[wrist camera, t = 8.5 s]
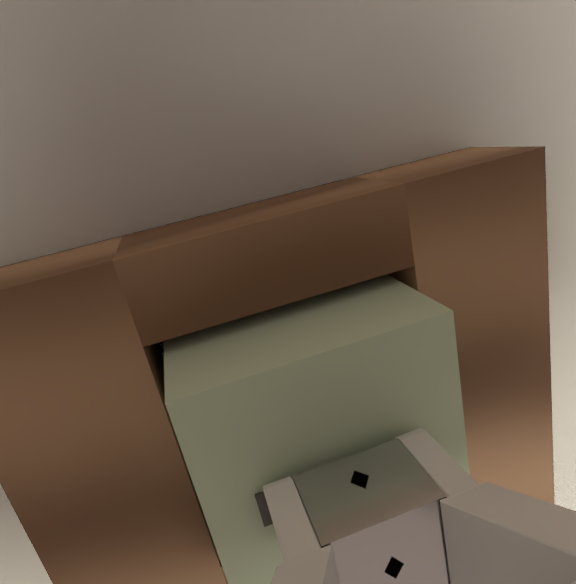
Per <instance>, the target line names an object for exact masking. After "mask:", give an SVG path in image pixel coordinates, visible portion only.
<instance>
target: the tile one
mask: <svg viewBox="0 0 576 584" xmlns="http://www.w3.org/2000/svg"><path fill="white" fill-rule="evenodd" d="M163 346H164V387H165V405H166V408H167V411H168V414H169V416H170V419H171V422H172V425H173V428H174V431H175V433H176V436H177V439H178V442H179V445H180V448H181V451H182V453H183V456H184V459H185V462H186V465H187V468H188V470H189V473H190V476H191V479H192V482H193V485H194V488H195V490H196V493H197V496H198V499H199V502H200V505H201V507H202V510H203V513H204V516H205V519H206V522H207V525H208V527H209V530H210V533H211V536H212V539H213V542H214V544H215V547H216V550H217V553H218V556H219V559H220V562H221V564H222V567H223V570H224V573H225V576H226V579H227V581H228V584H271V581H272V578H273V575H274V572H275V569H276V566H279V565H281V564H283V563H284V560H283V557H282V554H281V550H280V547H279V543H278V540H277V536H276V533H275V529H274V526H273V522H272V519H271V516H270V512H269V509H268V505H267V502H266V498H265V495H264V491H263V485H266V484H269V483H272V482H275V481H277V480H280V479H283V478H286V477H289V476H290V477H291V475H293V474H296V473H299V472H302V471H305V470H308V469H311V468H314V467H317V466H320V465H323V464H326V463H329V462H331V461H334V460H337V459H340V458H343V457H346V456H349V455H352V454H354V453H357V452H359V451H362V450H365V449H367V448H370V447H373V446H375V445H378V444H381V443H383V442H386V441H389V440H391V439H395V437H397V436H400V435H402V434H405V433H408V432H410V431H413V430H415V429H418V428H422V429H425V430H426V431H427V432H428V433H429V434H430V435H431V436H432V437H433V438H434V439H435V440H436V441H437V442H438V443H439V444H440V446H441V447H442V448H443V449H444V450H445V451H446V452H447V453H448V454H449V455H450V456H451V457H452V458H453V459H454V460H455V461H456V462H457V463H458V464H459V465H460V466H461V467H462V468H463V469H464V470H465V471H466V472H467V473H468V474H469V475H470V472H469V462H468V452H467V442H466V432H465V422H464V413H463V403H462V393H461V383H460V373H459V363H458V353H457V344H456V334H455V324H454V314H453V310H451V309H450V308H448V307H446V306H444V305H442V304H440V303H439V302H437V301H435V300H433V299H431V298H429V297H428V296H426V295H424V294H422V293H420V292H418V291H417V290H415V289H413V288H411V287H409V286H407V285H405V284H404V283H402V282H400V281H398V280H396V279H394V278H393V277H391V276H389V275H387V274H386V275H383V276H380V277H376V278H373V279H370V280H366V281H363V282H359V283H356V284H353V285H349V286H346V287H343V288H339V289H336V290H333V291H329V292H326V293H323V294H319V295H316V296H313V297H309V298H306V299H303V300H299V301H296V302H293V303H289V304H286V305H283V306H279V307H276V308H272V309H269V310H266V311H262V312H259V313H256V314H252V315H249V316H246V317H242V318H239V319H236V320H232V321H229V322H226V323H222V324H219V325H216V326H212V327H209V328H206V329H202V330H199V331H195V332H192V333H189V334H185V335H182V336H179V337H175V338H172V339H169V340H165V341H163Z"/></svg>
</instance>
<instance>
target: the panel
mask: <svg viewBox="0 0 576 584" xmlns="http://www.w3.org/2000/svg"><path fill="white" fill-rule="evenodd" d="M386 274H387V275H389V276H391V277H393V278H394V279H396V280H398V281H400V282H402V283H404V284H405V285H407V286H409V287H411V288H413V289H415V290H417V291H418V292H420V293H422V294H424V295H426V296H428V297H429V298H431V299H433V300H435V301H437V302H439V303H440V304H442V305H444V306H446V307H448V308H450V309H451V310H453V314H454V324H455V334H456V344H457V353H458V363H459V373H460V383H461V393H462V403H463V413H464V422H465V432H466V442H467V452H468V462H469V472H470V476H471V477H472V478H473V479H474V480H475V481H476V482H477V483H478V484H479V485H480V484H483V483H485V482H489V483H492V484H495V485H498V486H501V487H504V488H507V489H510V490H513V491H516V492H519V493H522V494H525V495H528V496H531V497H534V498H537V499H540V500H543V501H546V502H549V503H552V504H554V474H553V436H552V399H551V362H550V324H549V287H548V249H547V212H546V175H545V147H470V148H466V149H462V150H458V151H454V152H450V153H446V154H442V155H438V156H434V157H431V158H427V159H423V160H419V161H415V162H411V163H407V164H403V165H399V166H395V167H391V168H388V169H384V170H380V171H376V172H372V173H368V174H364V175H360V176H356V177H352V178H348V179H344V180H341V181H337V182H333V183H329V184H325V185H321V186H317V187H313V188H309V189H305V190H301V191H297V192H294V193H290V194H286V195H282V196H278V197H274V198H270V199H266V200H262V201H258V202H254V203H251V204H247V205H243V206H239V207H235V208H231V209H227V210H223V211H219V212H215V213H211V214H207V215H204V216H200V217H196V218H192V219H188V220H184V221H180V222H176V223H172V224H168V225H164V226H161V227H157V228H153V229H149V230H145V231H141V232H137V233H133V234H129V235H125V236H121V237H117V238H114V239H110V240H106V241H102V242H98V243H94V244H90V245H86V246H82V247H78V248H74V249H71V250H67V251H63V252H59V253H55V254H51V255H47V256H43V257H39V258H35V259H31V260H27V261H24V262H20V263H16V264H12V265H8V266H4V267H0V483H1V485H2V487H3V489H4V491H5V493H6V495H7V497H8V499H9V501H10V503H11V504H12V506H13V508H14V510H15V512H16V514H17V516H18V518H19V520H20V522H21V523H22V525H23V527H24V529H25V531H26V533H27V535H28V537H29V539H30V541H31V543H32V544H33V546H34V548H35V550H36V552H37V554H38V556H39V558H40V560H41V562H42V563H43V565H44V567H45V569H46V571H47V573H48V575H49V577H50V579H51V581H52V583H53V584H228V581H227V579H226V576H225V573H224V570H223V567H222V564H221V562H220V559H219V556H218V553H217V550H216V547H215V544H214V542H213V539H212V536H211V533H210V530H209V527H208V525H207V522H206V519H205V516H204V513H203V510H202V507H201V505H200V502H199V499H198V496H197V493H196V490H195V488H194V485H193V482H192V479H191V476H190V473H189V470H188V468H187V465H186V462H185V459H184V456H183V453H182V451H181V448H180V445H179V442H178V439H177V436H176V433H175V431H174V428H173V425H172V422H171V419H170V416H169V414H168V411H167V408H166V405H165V387H164V357H163V354H162V351H161V348H160V345H159V342H162V341H165V340H169V339H172V338H175V337H179V336H182V335H185V334H189V333H192V332H195V331H199V330H202V329H206V328H209V327H212V326H216V325H219V324H222V323H226V322H229V321H232V320H236V319H239V318H242V317H246V316H249V315H252V314H256V313H259V312H262V311H266V310H269V309H272V308H276V307H279V306H283V305H286V304H289V303H293V302H296V301H299V300H303V299H306V298H309V297H313V296H316V295H319V294H323V293H326V292H329V291H333V290H336V289H339V288H343V287H346V286H349V285H353V284H356V283H359V282H363V281H366V280H370V279H373V278H376V277H380V276H383V275H386Z"/></svg>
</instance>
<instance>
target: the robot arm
mask: <svg viewBox="0 0 576 584" xmlns="http://www.w3.org/2000/svg"><path fill="white" fill-rule="evenodd" d="M263 491H264V495H265V498H266V502H267V505H268V509H269V512H270V516H271V519H272V522H273V526H274V529H275V533H276V536H277V540H278V543H279V547H280V550H281V554H282V557H283V560H284V563H283V564H281V565H279V566H276V569H275V572H274V575H273V578H272V581H271V584H576V511H573V510H570V509H567V508H564V507H561V506H558V505H555V504H552V503H549V502H546V501H543V500H540V499H537V498H534V497H531V496H528V495H525V494H522V493H519V492H516V491H513V490H510V489H507V488H504V487H501V486H498V485H495V484H492V483H489V482H485V483H483V484H480V485H479V484H478V483H477V482H476V481H475V480H474V479H473V478H472V477H471V476H470V475H469V474H468V473H467V472H466V471H465V470H464V469H463V468H462V467H461V466H460V465H459V464H458V463H457V462H456V461H455V460H454V459H453V458H452V457H451V456H450V455H449V454H448V453H447V452H446V451H445V450H444V449H443V448H442V447H441V446H440V444H439V443H438V442H437V441H436V440H435V439H434V438H433V437H432V436H431V435H430V434H429V433H428V432H427V431H426V430H425V429H422V428H418V429H415V430H413V431H410V432H408V433H405V434H402V435H400V436H397V437H395V439H391V440H389V441H386V442H383V443H381V444H378V445H375V446H373V447H370V448H367V449H365V450H362V451H359V452H357V453H354V454H352V455H349V456H346V457H343V458H340V459H337V460H334V461H331V462H329V463H326V464H323V465H320V466H317V467H314V468H311V469H308V470H305V471H302V472H299V473H296V474H293V475H291V477H290V476H289V477H286V478H283V479H280V480H277V481H275V482H272V483H269V484H266V485H263Z"/></svg>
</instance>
